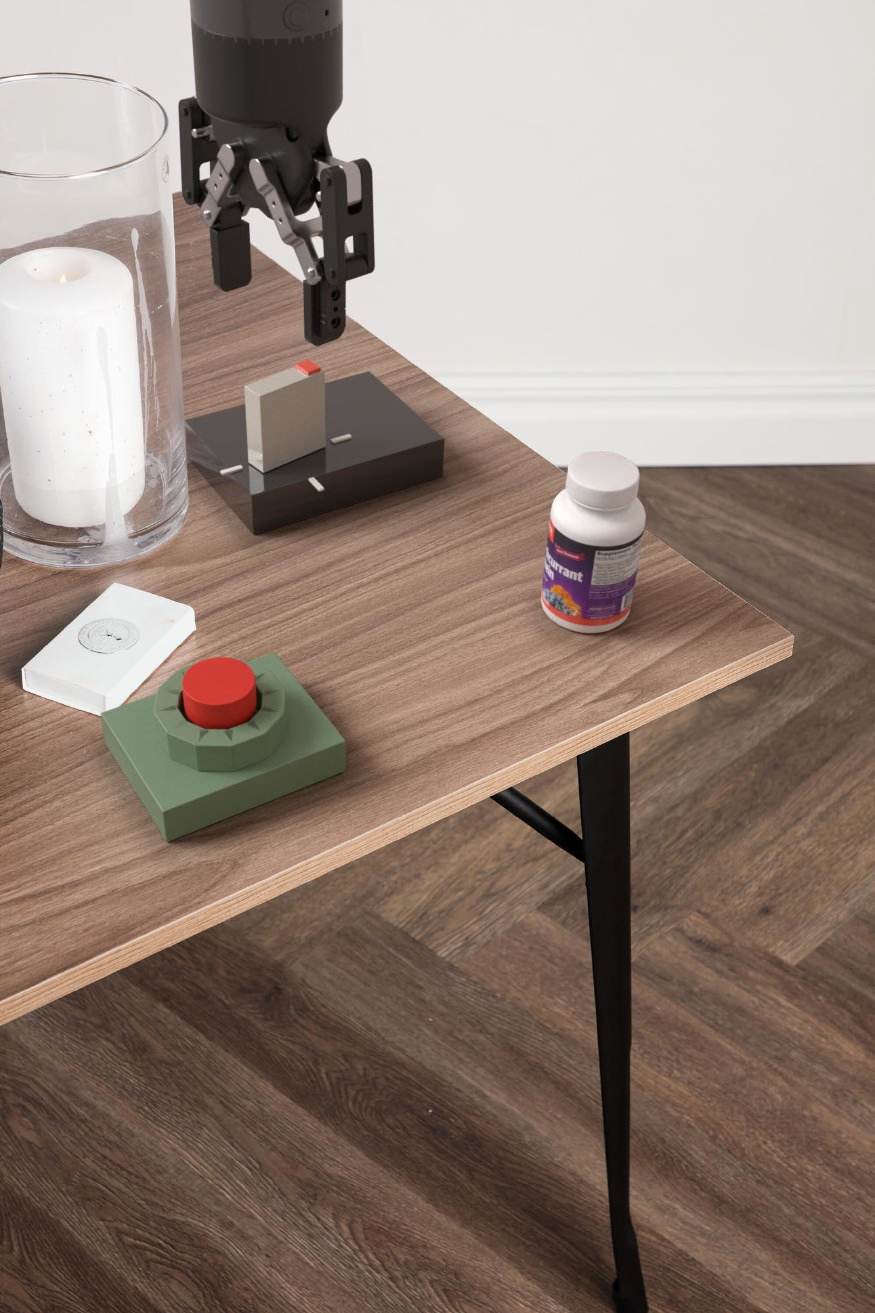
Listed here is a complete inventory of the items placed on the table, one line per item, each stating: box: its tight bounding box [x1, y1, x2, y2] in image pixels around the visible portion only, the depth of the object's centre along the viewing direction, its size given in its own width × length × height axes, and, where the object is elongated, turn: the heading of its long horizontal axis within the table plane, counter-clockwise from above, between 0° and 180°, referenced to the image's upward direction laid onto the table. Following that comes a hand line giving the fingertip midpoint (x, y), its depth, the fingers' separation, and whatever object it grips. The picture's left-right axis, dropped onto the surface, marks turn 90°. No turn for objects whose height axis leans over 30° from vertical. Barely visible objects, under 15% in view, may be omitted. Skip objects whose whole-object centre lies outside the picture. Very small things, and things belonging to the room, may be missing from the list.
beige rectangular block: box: [243, 359, 326, 473], centre depth 88 cm, size 5×2×6 cm, turn 132°
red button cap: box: [182, 656, 257, 729], centre depth 71 cm, size 4×4×2 cm
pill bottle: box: [540, 450, 647, 634], centre depth 81 cm, size 5×5×10 cm
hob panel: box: [184, 370, 446, 536], centre depth 93 cm, size 15×12×3 cm
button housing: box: [100, 651, 347, 843], centre depth 72 cm, size 10×8×4 cm
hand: (277, 312), depth 80 cm, fingers open, 8 cm apart
